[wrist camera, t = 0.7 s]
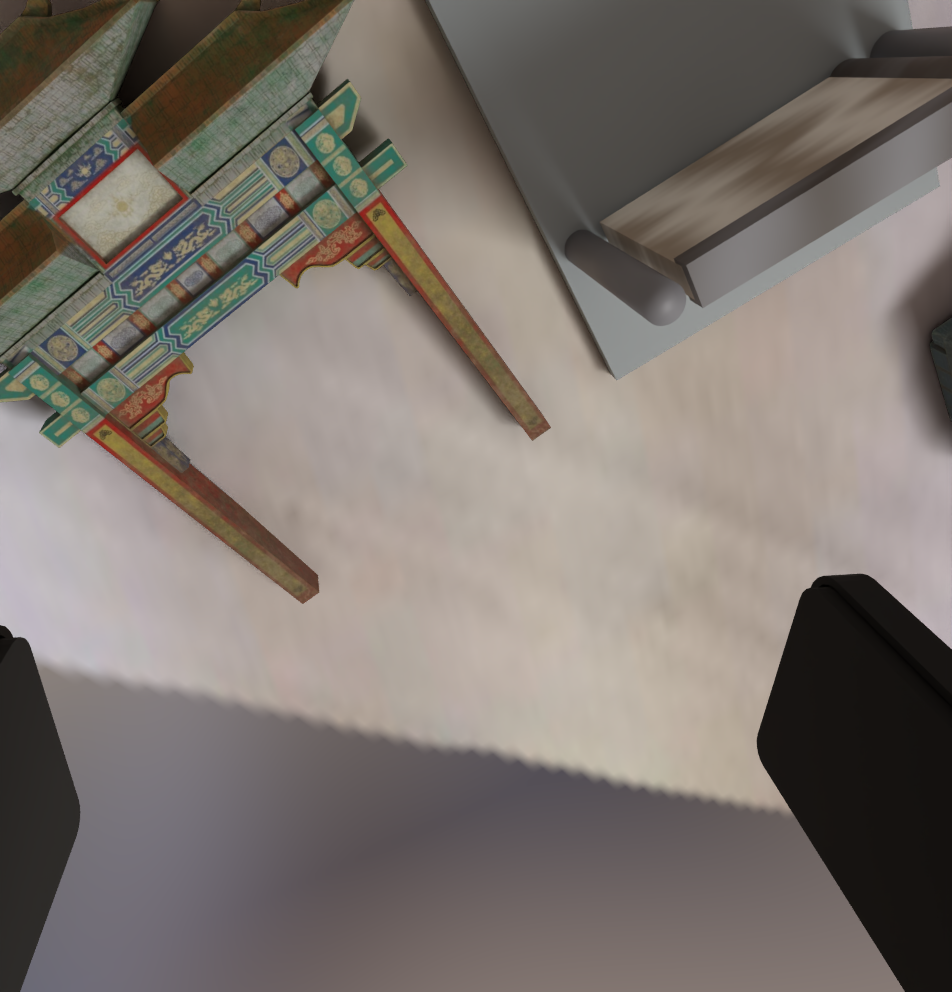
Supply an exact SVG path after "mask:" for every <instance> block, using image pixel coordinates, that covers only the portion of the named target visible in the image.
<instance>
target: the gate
mask: <svg viewBox="0 0 952 992" xmlns="http://www.w3.org/2000/svg"><path fill="white" fill-rule="evenodd" d="M950 158H952V56H931V57H890V58H852V59H847V60H845V61H843V62H841V63H840V64H839V65H838V66H837V67H836V68H835V69H834V70H833V72H832V73H831V75H830V77H829V78H827V79H825V80H824V81H822V82H821V83H819V84H817V85H816V86H814V87H813V88H811V89H810V90H808V91H806V92H805V93H803V94H802V95H800V96H798V97H797V98H795V99H794V100H792V101H791V102H789V103H787V104H786V105H784V106H783V107H781V108H779V109H778V110H776V111H775V112H773V113H772V114H770V115H768V116H767V117H765V118H764V119H762V120H760V121H759V122H757V123H756V124H754V125H753V126H751V127H749V128H748V129H746V130H745V131H743V132H741V133H740V134H738V135H737V136H735V137H734V138H732V139H730V140H729V141H727V142H726V143H724V144H722V145H721V146H719V147H718V148H716V149H715V150H713V151H711V152H710V153H708V154H707V155H705V156H703V157H702V158H700V159H699V160H697V161H696V162H694V163H692V164H691V165H689V166H688V167H686V168H684V169H683V170H681V171H680V172H678V173H677V174H675V175H673V176H672V177H670V178H669V179H667V180H665V181H664V182H662V183H661V184H659V185H658V186H656V187H654V188H653V189H651V190H650V191H648V192H646V193H645V194H643V195H642V196H640V197H638V198H637V199H635V200H634V201H632V202H631V203H629V204H627V205H626V206H624V207H623V208H621V209H619V210H618V211H616V212H615V213H613V214H612V215H610V216H608V217H607V218H605V219H604V220H602V221H600V224H601V226H602V228H603V231H604V233H605V235H606V237H607V240H608V242H609V243H610V244H612V245H614V246H615V247H617V248H619V249H620V250H622V251H624V252H625V253H627V254H629V255H630V256H632V257H634V258H635V259H637V260H639V261H641V262H642V263H644V264H646V265H647V266H649V267H651V268H652V269H654V270H656V271H657V272H659V273H661V274H662V275H664V276H666V277H667V278H669V279H671V280H673V281H674V282H676V283H678V284H679V285H680V286H681V287H682V288H683V289H684V291H685V294H686V295H687V296H689V298H690V300H691V301H692V302H694V303H695V304H697V305H699V306H700V307H702V308H704V307H706V306H707V305H709V304H711V303H712V302H714V301H716V300H717V299H719V298H721V297H722V296H724V295H726V294H727V293H729V292H731V291H732V290H734V289H736V288H737V287H739V286H740V285H742V284H744V283H745V282H747V281H749V280H750V279H752V278H754V277H755V276H757V275H759V274H760V273H762V272H764V271H765V270H767V269H769V268H770V267H772V266H774V265H775V264H777V263H778V262H780V261H782V260H783V259H785V258H787V257H788V256H790V255H792V254H793V253H795V252H797V251H798V250H800V249H802V248H803V247H805V246H807V245H808V244H810V243H812V242H813V241H815V240H817V239H818V238H820V237H821V236H823V235H825V234H826V233H828V232H830V231H831V230H833V229H835V228H836V227H838V226H840V225H841V224H843V223H845V222H846V221H848V220H850V219H851V218H853V217H855V216H856V215H858V214H859V213H861V212H863V211H864V210H866V209H868V208H869V207H871V206H873V205H874V204H876V203H878V202H879V201H881V200H883V199H884V198H886V197H888V196H889V195H891V194H893V193H894V192H896V191H898V190H899V189H901V188H902V187H904V186H906V185H907V184H909V183H911V182H912V181H914V180H916V179H917V178H919V177H921V176H922V175H924V174H926V173H927V172H929V171H931V170H932V169H934V168H936V167H937V166H939V165H940V164H942V163H944V162H945V161H947V160H949V159H950Z"/></svg>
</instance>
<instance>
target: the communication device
mask: <svg viewBox="0 0 952 992" xmlns="http://www.w3.org/2000/svg"><path fill="white" fill-rule="evenodd" d="M932 338H933V341H932V342H931V343H930V349H931V353H932V356H933V360H934V363H935V367H936V370H937V374H938V378H939V381H940V385H941V388H942V392H943V396H944V399H945V403H946V406H947V410H948V413H949V417H950V421H952V318H950V319H949V320H947V321H946V322H945V323H943V324H942V325H940V326H939V327H937V328H936V329H934V330H933V331H932Z"/></svg>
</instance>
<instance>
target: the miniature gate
mask: <svg viewBox="0 0 952 992" xmlns="http://www.w3.org/2000/svg"><path fill="white" fill-rule="evenodd" d="M158 1H160V0H100V1H98V2H96V3H94V4H92V5H89V6H87V7H85V8H82V9H78V10H74V11H70V12H66V13H62V14H58V15H54V16H52V4H51V2H50V0H28V1H27V4H26V7H25V10H24V11H23V13H22V15H21V16H20V17H18V18H17V19H16V20H15V21H14V22H13V23H12V24H10V25H9V26H8V27H7V28H6V29H5V30H4V31H3V32H2V33H1V34H0V193H3V192H6V191H9V190H13V189H14V190H13V191H12V193H13V194H14V195H15V196H16V195H18V194H20V195H21V196H22V197H23V198H24V200H23V201H22V202H21V203H20V204H18V205H17V206H16V207H15V208H14V209H13V210H12V211H11V212H10V213H8V214H7V215H6V216H5V217H4V218H3V219H2V220H1V221H0V364H1V363H2V364H4V365H5V366H6V367H7V368H6V369H5V370H4V371H3V372H2V373H1V374H0V402H10V401H20V400H30V399H31V398H32V397H33V396H34V395H37V396H38V397H39V398H41V399H42V400H43V401H44V402H46V403H47V404H48V405H49V406H51V407H52V408H53V409H55V410H56V412H55V413H54V414H53V415H52V416H50V417H49V418H48V419H47V420H46V421H45V423H44V425H43V427H42V428H41V430H40V432H39V433H40V434H41V435H43V436H44V437H45V438H46V439H48V440H49V441H50V442H52V443H53V444H54V445H56V446H57V447H58V448H60V447H61V446H62V445H64V444H65V443H66V442H67V441H69V440H70V439H71V438H72V437H73V436H75V435H76V434H77V433H78V432H80V431H83V432H84V433H85V434H86V435H88V436H89V437H90V438H92V439H93V440H94V441H95V442H97V443H98V444H99V445H101V446H102V447H103V448H104V449H106V450H107V451H108V452H109V453H111V454H112V455H113V456H115V457H116V458H117V459H118V460H120V461H121V462H122V463H124V464H125V465H126V466H127V467H129V468H130V469H131V470H132V471H134V472H135V473H136V474H138V475H139V476H140V477H141V478H143V479H144V480H145V481H146V482H148V483H149V484H150V485H152V486H153V487H154V488H155V489H157V490H158V491H159V492H161V493H162V494H163V495H164V496H166V497H167V498H168V499H169V500H171V501H172V502H173V503H175V504H176V505H177V506H178V507H180V508H181V509H182V510H183V511H185V512H186V513H187V514H189V515H190V516H191V517H192V518H194V519H195V520H196V521H198V522H199V523H200V524H201V525H203V526H204V527H205V528H206V529H208V530H209V531H210V532H212V533H213V534H214V535H215V536H217V537H218V538H219V539H220V540H222V541H223V542H224V543H226V544H227V545H228V546H229V547H231V548H232V549H233V550H235V551H236V552H237V553H238V554H240V555H241V556H242V557H243V558H245V559H246V560H247V561H249V562H250V563H251V564H252V565H254V566H255V567H256V568H257V569H259V570H260V571H261V572H263V573H264V574H265V575H266V576H268V577H269V578H270V579H272V580H273V581H274V582H275V583H277V584H278V585H279V586H280V587H282V588H283V589H284V590H286V591H287V592H288V593H289V594H291V595H292V596H293V597H294V598H296V599H297V600H298V601H300V602H301V603H302V604H303V603H305V602H306V601H308V600H309V599H310V598H312V597H313V596H315V595H316V594H318V593H319V584H318V575H317V574H316V573H315V572H314V571H313V570H312V569H310V568H309V567H308V566H307V565H306V564H305V563H304V562H303V561H302V560H300V559H299V558H298V557H297V556H296V555H295V554H294V553H293V552H291V551H290V550H289V549H288V548H287V547H286V546H285V545H284V544H283V543H281V542H280V541H279V540H278V539H277V538H276V537H275V536H274V535H272V534H271V533H270V532H269V531H268V530H267V529H266V528H265V527H264V526H262V525H261V524H260V523H259V522H258V521H257V520H256V519H255V518H253V517H252V516H251V515H250V514H249V513H248V512H247V511H246V510H244V509H243V508H242V507H241V506H240V505H239V504H237V503H236V502H235V501H234V500H233V499H232V498H230V497H229V496H228V495H227V494H226V493H224V492H223V491H222V490H221V489H220V488H218V487H217V486H216V485H215V484H214V483H212V482H211V481H210V480H209V479H208V478H206V477H205V476H204V475H203V474H202V473H200V472H199V471H198V470H197V469H196V468H194V467H193V466H192V465H191V464H190V459H189V458H188V457H187V456H186V455H185V454H184V453H182V452H181V451H180V450H179V449H178V448H177V447H176V446H175V445H174V444H173V443H172V442H170V441H169V440H168V439H167V438H166V437H165V436H166V433H167V429H168V426H167V425H166V420H167V416H168V412H167V411H166V410H165V408H164V407H163V406H162V404H163V403H164V402H165V401H166V399H167V395H168V391H169V383H170V380H171V379H172V378H173V377H175V376H177V375H179V374H191V373H192V371H193V367H194V366H193V364H192V362H191V361H190V360H189V358H188V357H187V356H186V354H185V353H184V351H186V350H187V349H188V348H189V347H190V346H192V345H193V344H194V343H195V342H197V341H198V340H199V339H200V338H202V337H203V336H204V335H205V334H207V333H208V332H209V331H210V330H211V329H213V328H214V327H215V326H216V325H218V324H219V323H220V322H221V321H223V320H224V319H225V318H226V317H228V316H229V315H230V314H231V313H232V312H234V311H235V310H236V309H237V308H239V307H240V306H241V305H242V304H244V303H245V302H246V301H247V300H249V299H250V298H251V297H252V296H253V295H255V294H256V293H257V292H258V291H260V290H261V289H262V288H263V287H265V286H266V285H267V284H268V283H270V282H271V281H272V280H273V279H274V278H276V277H277V276H278V275H280V276H281V277H283V278H284V279H285V280H286V281H288V282H289V283H290V284H291V285H293V286H294V287H295V288H298V287H299V281H300V278H301V276H302V274H303V273H304V272H305V271H306V270H307V269H309V268H312V267H333V266H335V265H337V264H339V263H340V262H341V261H343V260H344V259H345V260H347V261H348V262H349V263H350V264H352V265H353V266H354V267H355V268H357V269H360V268H361V267H363V266H364V265H367V266H368V267H370V268H371V269H373V270H377V269H379V268H380V267H381V266H382V265H384V266H385V268H386V269H387V270H388V271H389V272H390V273H391V275H392V276H393V277H394V278H395V279H396V280H397V282H398V283H399V284H400V285H401V286H402V287H403V289H404V290H405V291H406V292H407V293H408V294H409V296H411V295H412V294H413V293H415V292H416V291H417V290H418V292H419V293H420V294H421V296H422V297H423V298H424V299H425V301H426V302H427V303H428V305H429V306H430V307H431V309H432V310H433V311H434V313H435V314H436V315H437V316H438V318H439V319H440V320H441V322H442V323H443V324H444V326H445V327H446V328H447V330H448V331H449V332H450V333H451V335H452V336H453V337H454V339H455V340H456V341H457V343H458V344H459V345H460V347H461V348H462V349H463V351H464V352H465V353H466V354H467V356H468V357H469V358H470V360H471V361H472V362H473V364H474V365H475V366H476V368H477V369H478V370H479V371H480V373H481V374H482V375H483V377H484V378H485V379H486V381H487V382H488V383H489V385H490V386H491V387H492V389H493V390H494V391H495V392H496V394H497V395H498V396H499V398H500V399H501V400H502V402H503V403H504V404H505V406H506V407H507V408H508V409H509V411H510V412H511V413H512V415H513V416H514V417H515V419H516V420H517V421H518V423H519V424H520V425H521V426H522V428H523V429H524V430H525V432H526V433H527V434H528V436H529V437H530V438H531V440H532V441H533V440H534V439H536V438H537V437H538V436H540V435H541V434H543V433H544V432H545V431H547V430H548V429H550V428H551V427H550V425H549V424H548V422H547V421H546V419H545V418H544V416H543V415H542V413H541V412H540V410H539V409H538V408H537V406H536V405H535V404H534V402H533V401H532V399H531V398H530V397H529V395H528V394H527V393H526V391H525V390H524V388H523V387H522V386H521V384H520V383H519V382H518V380H517V379H516V377H515V376H514V375H513V373H512V372H511V371H510V369H509V368H508V366H507V365H506V364H505V362H504V361H503V360H502V358H501V357H500V355H499V354H498V353H497V351H496V350H495V349H494V347H493V346H492V344H491V343H490V342H489V340H488V339H487V337H486V336H485V335H484V333H483V332H482V331H481V329H480V328H479V326H478V325H477V324H476V322H475V321H474V320H473V318H472V317H471V316H470V314H469V313H468V311H467V310H466V309H465V307H464V306H463V305H462V303H461V302H460V300H459V299H458V298H457V296H456V295H455V294H454V292H453V291H452V289H451V288H450V287H449V285H448V284H447V283H446V281H445V280H444V278H443V277H442V276H441V274H440V273H439V272H438V270H437V269H436V268H435V266H434V265H433V263H432V262H431V261H430V259H429V258H428V257H427V255H426V254H425V252H424V251H423V250H422V248H421V247H420V246H419V244H418V243H417V241H416V240H415V239H414V237H413V236H412V235H411V233H410V232H409V230H408V229H407V228H406V226H405V225H404V224H403V222H402V221H401V219H400V218H399V217H398V215H397V214H396V213H395V211H394V210H393V209H392V207H391V206H390V204H389V203H388V202H387V200H386V199H385V198H384V196H383V195H382V193H381V192H380V191H379V188H380V187H382V186H383V185H384V184H385V183H387V182H388V181H389V180H390V179H391V178H393V177H394V176H395V175H396V174H398V173H399V172H400V171H401V170H403V169H404V168H405V167H406V166H408V165H407V164H406V162H405V161H404V159H403V158H402V156H401V155H400V154H399V152H398V151H397V149H396V148H395V146H394V145H393V143H392V142H391V141H390V140H389V139H387V140H386V141H384V142H383V143H382V144H381V145H380V146H378V147H377V148H376V149H375V150H374V151H372V152H371V153H370V154H369V155H367V156H366V157H365V158H364V159H363V160H361V161H360V162H358V161H357V159H356V158H355V156H354V155H353V154H352V152H351V151H350V150H349V148H348V147H347V145H346V144H345V143H344V141H343V140H342V139H343V138H344V137H345V136H346V135H347V134H349V133H350V132H351V131H352V129H353V125H354V122H355V118H356V115H357V111H358V108H359V104H360V100H361V97H360V95H359V94H358V93H357V91H356V90H355V88H354V87H353V85H352V84H351V82H350V81H349V80H348V79H347V80H346V81H344V82H343V83H342V84H341V85H340V86H338V87H337V88H336V89H335V90H334V91H333V92H331V93H330V94H329V95H328V96H327V97H326V98H324V99H323V100H322V101H321V102H320V103H318V104H316V103H315V102H314V101H313V99H312V98H313V95H312V93H311V92H310V88H311V86H312V84H313V82H314V80H315V78H316V76H317V74H318V72H319V70H320V68H321V66H322V64H323V62H324V60H325V58H326V56H327V54H328V52H329V50H330V48H331V46H332V44H333V42H334V40H335V38H336V36H337V34H338V32H339V30H340V28H341V26H342V24H343V22H344V20H345V18H346V16H347V14H348V12H349V10H350V8H351V6H352V4H353V2H354V0H303V1H301V2H298V3H294V4H290V5H286V6H282V7H278V8H274V9H270V10H266V11H260V4H261V0H241V2H240V4H239V5H238V7H237V8H236V10H235V11H234V12H233V13H231V14H230V15H229V16H228V17H227V18H226V19H225V20H224V21H223V22H221V23H220V24H219V25H218V26H217V27H216V28H215V29H214V30H212V31H211V32H210V33H209V34H208V35H207V36H206V37H205V38H204V39H202V40H201V41H200V42H199V43H198V44H197V45H196V46H195V47H194V48H192V49H191V50H190V51H189V52H188V53H187V54H186V55H185V56H183V57H182V58H181V59H180V60H179V61H178V62H177V63H176V64H175V65H173V66H172V67H171V68H170V69H169V70H168V71H167V72H166V73H165V74H163V75H162V76H161V77H160V78H159V79H158V80H157V81H156V82H155V83H153V84H152V85H151V86H150V87H149V88H148V89H147V90H146V91H144V92H143V93H142V94H141V95H140V96H139V97H138V98H137V99H136V100H134V101H133V102H132V103H131V104H130V105H129V106H128V107H127V108H126V109H124V108H123V107H122V106H121V105H120V104H121V103H122V101H121V100H120V99H119V98H117V99H116V97H117V95H118V93H119V90H120V88H121V85H122V83H123V81H124V78H125V76H126V74H127V71H128V69H129V67H130V64H131V62H132V60H133V57H134V55H135V53H136V50H137V48H138V45H139V43H140V41H141V38H142V36H143V34H144V31H145V29H146V27H147V24H148V22H149V20H150V17H151V15H152V13H153V10H154V8H155V6H156V3H157V2H158Z"/></svg>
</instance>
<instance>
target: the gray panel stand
mask: <svg viewBox="0 0 952 992" xmlns="http://www.w3.org/2000/svg"><path fill="white" fill-rule="evenodd" d="M425 1H426V3H427V5H428V7H429V9H430V11H431V13H432V15H433V17H434V19H435V21H436V23H437V25H438V27H439V29H440V31H441V33H442V35H443V37H444V39H445V41H446V43H447V45H448V47H449V49H450V51H451V53H452V55H453V57H454V59H455V61H456V64H457V66H458V68H459V70H460V72H461V74H462V76H463V78H464V80H465V82H466V84H467V86H468V88H469V90H470V92H471V94H472V96H473V98H474V100H475V102H476V104H477V106H478V108H479V110H480V112H481V114H482V116H483V118H484V120H485V122H486V124H487V126H488V128H489V130H490V132H491V134H492V136H493V138H494V140H495V142H496V144H497V146H498V148H499V150H500V152H501V154H502V156H503V158H504V160H505V162H506V164H507V166H508V168H509V170H510V172H511V174H512V176H513V178H514V180H515V182H516V184H517V186H518V188H519V190H520V192H521V194H522V196H523V198H524V200H525V202H526V204H527V206H528V208H529V210H530V212H531V214H532V216H533V218H534V221H535V223H536V225H537V227H538V229H539V231H540V233H541V235H542V237H543V239H544V241H545V243H546V245H547V247H548V249H549V251H550V253H551V255H552V257H553V259H554V261H555V263H556V265H557V267H558V269H559V271H560V273H561V275H562V277H563V279H564V281H565V283H566V285H567V287H568V289H569V291H570V293H571V295H572V297H573V299H574V301H575V303H576V305H577V307H578V309H579V311H580V313H581V315H582V317H583V319H584V321H585V323H586V325H587V327H588V329H589V331H590V333H591V335H592V337H593V339H594V341H595V343H596V345H597V347H598V349H599V351H600V353H601V355H602V357H603V359H604V361H605V363H606V365H607V367H608V369H609V371H610V373H611V375H612V376H613V377H614V378H615V379H616V380H618V379H620V378H622V377H623V376H625V375H627V374H628V373H630V372H632V371H633V370H635V369H637V368H638V367H640V366H642V365H643V364H645V363H647V362H648V361H650V360H652V359H653V358H655V357H657V356H658V355H660V354H662V353H663V352H665V351H667V350H668V349H670V348H672V347H673V346H675V345H677V344H678V343H680V342H682V341H683V340H685V339H687V338H688V337H690V336H692V335H693V334H695V333H697V332H698V331H700V330H702V329H703V328H705V327H706V326H708V325H710V324H711V323H713V322H715V321H716V320H718V319H720V318H721V317H723V316H725V315H726V314H728V313H730V312H731V311H733V310H735V309H736V308H738V307H740V306H741V305H743V304H745V303H746V302H748V301H750V300H751V299H753V298H755V297H756V296H758V295H760V294H761V293H763V292H765V291H766V290H768V289H770V288H771V287H773V286H775V285H776V284H778V283H780V282H781V281H783V280H785V279H786V278H788V277H790V276H791V275H793V274H795V273H796V272H798V271H800V270H801V269H803V268H805V267H806V266H808V265H810V264H811V263H813V262H815V261H816V260H818V259H820V258H821V257H823V256H825V255H826V254H828V253H830V252H831V251H833V250H835V249H836V248H838V247H840V246H841V245H843V244H845V243H846V242H848V241H849V240H851V239H853V238H854V237H856V236H858V235H859V234H861V233H863V232H864V231H866V230H868V229H869V228H871V227H873V226H874V225H876V224H878V223H879V222H881V221H883V220H884V219H886V218H888V217H889V216H891V215H893V214H894V213H896V212H898V211H899V210H901V209H903V208H904V207H906V206H908V205H909V204H911V203H913V202H914V201H916V200H918V199H919V198H921V197H923V196H924V195H926V194H928V193H929V192H931V191H933V190H934V189H936V188H938V187H939V186H940V184H939V178H938V172H937V167H936V168H934V169H932V170H931V171H929V172H927V173H926V174H924V175H922V176H921V177H919V178H917V179H916V180H914V181H912V182H911V183H909V184H907V185H906V186H904V187H902V188H901V189H899V190H898V191H896V192H894V193H893V194H891V195H889V196H888V197H886V198H884V199H883V200H881V201H879V202H878V203H876V204H874V205H873V206H871V207H869V208H868V209H866V210H864V211H863V212H861V213H859V214H858V215H856V216H855V217H853V218H851V219H850V220H848V221H846V222H845V223H843V224H841V225H840V226H838V227H836V228H835V229H833V230H831V231H830V232H828V233H826V234H825V235H823V236H821V237H820V238H818V239H817V240H815V241H813V242H812V243H810V244H808V245H807V246H805V247H803V248H802V249H800V250H798V251H797V252H795V253H793V254H792V255H790V256H788V257H787V258H785V259H783V260H782V261H780V262H778V263H777V264H775V265H774V266H772V267H770V268H769V269H767V270H765V271H764V272H762V273H760V274H759V275H757V276H755V277H754V278H752V279H750V280H749V281H747V282H745V283H744V284H742V285H740V286H739V287H737V288H736V289H734V290H732V291H731V292H729V293H727V294H726V295H724V296H722V297H721V298H719V299H717V300H716V301H714V302H712V303H711V304H709V305H707V306H706V307H704V308H702V307H700V306H699V305H697V304H695V303H694V302H692V301H691V300H690V298H689V296H687V295H686V294H685V291H684V289H683V288H682V287H681V286H680V285H679V284H678V283H676V282H674V281H673V280H671V279H669V278H667V277H666V276H664V275H662V274H661V273H659V272H657V271H656V270H654V269H652V268H651V267H649V266H647V265H646V264H644V263H642V262H641V261H639V260H637V259H635V258H634V257H632V256H630V255H629V254H627V253H625V252H624V251H622V250H620V249H619V248H617V247H615V246H614V245H612V244H610V243H609V242H608V240H607V237H606V235H605V233H604V231H603V228H602V226H601V224H600V221H602V220H604V219H605V218H607V217H608V216H610V215H612V214H613V213H615V212H616V211H618V210H619V209H621V208H623V207H624V206H626V205H627V204H629V203H631V202H632V201H634V200H635V199H637V198H638V197H640V196H642V195H643V194H645V193H646V192H648V191H650V190H651V189H653V188H654V187H656V186H658V185H659V184H661V183H662V182H664V181H665V180H667V179H669V178H670V177H672V176H673V175H675V174H677V173H678V172H680V171H681V170H683V169H684V168H686V167H688V166H689V165H691V164H692V163H694V162H696V161H697V160H699V159H700V158H702V157H703V156H705V155H707V154H708V153H710V152H711V151H713V150H715V149H716V148H718V147H719V146H721V145H722V144H724V143H726V142H727V141H729V140H730V139H732V138H734V137H735V136H737V135H738V134H740V133H741V132H743V131H745V130H746V129H748V128H749V127H751V126H753V125H754V124H756V123H757V122H759V121H760V120H762V119H764V118H765V117H767V116H768V115H770V114H772V113H773V112H775V111H776V110H778V109H779V108H781V107H783V106H784V105H786V104H787V103H789V102H791V101H792V100H794V99H795V98H797V97H798V96H800V95H802V94H803V93H805V92H806V91H808V90H810V89H811V88H813V87H814V86H816V85H817V84H819V83H821V82H822V81H824V80H825V79H827V78H829V77H830V75H831V73H832V72H833V70H834V69H835V68H836V67H837V66H838V65H839V64H840V63H841V62H843V61H845V60H847V59H852V58H890V57H931V56H952V27H937V28H923V29H913V28H912V22H911V16H910V11H909V5H908V0H425Z"/></svg>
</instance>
